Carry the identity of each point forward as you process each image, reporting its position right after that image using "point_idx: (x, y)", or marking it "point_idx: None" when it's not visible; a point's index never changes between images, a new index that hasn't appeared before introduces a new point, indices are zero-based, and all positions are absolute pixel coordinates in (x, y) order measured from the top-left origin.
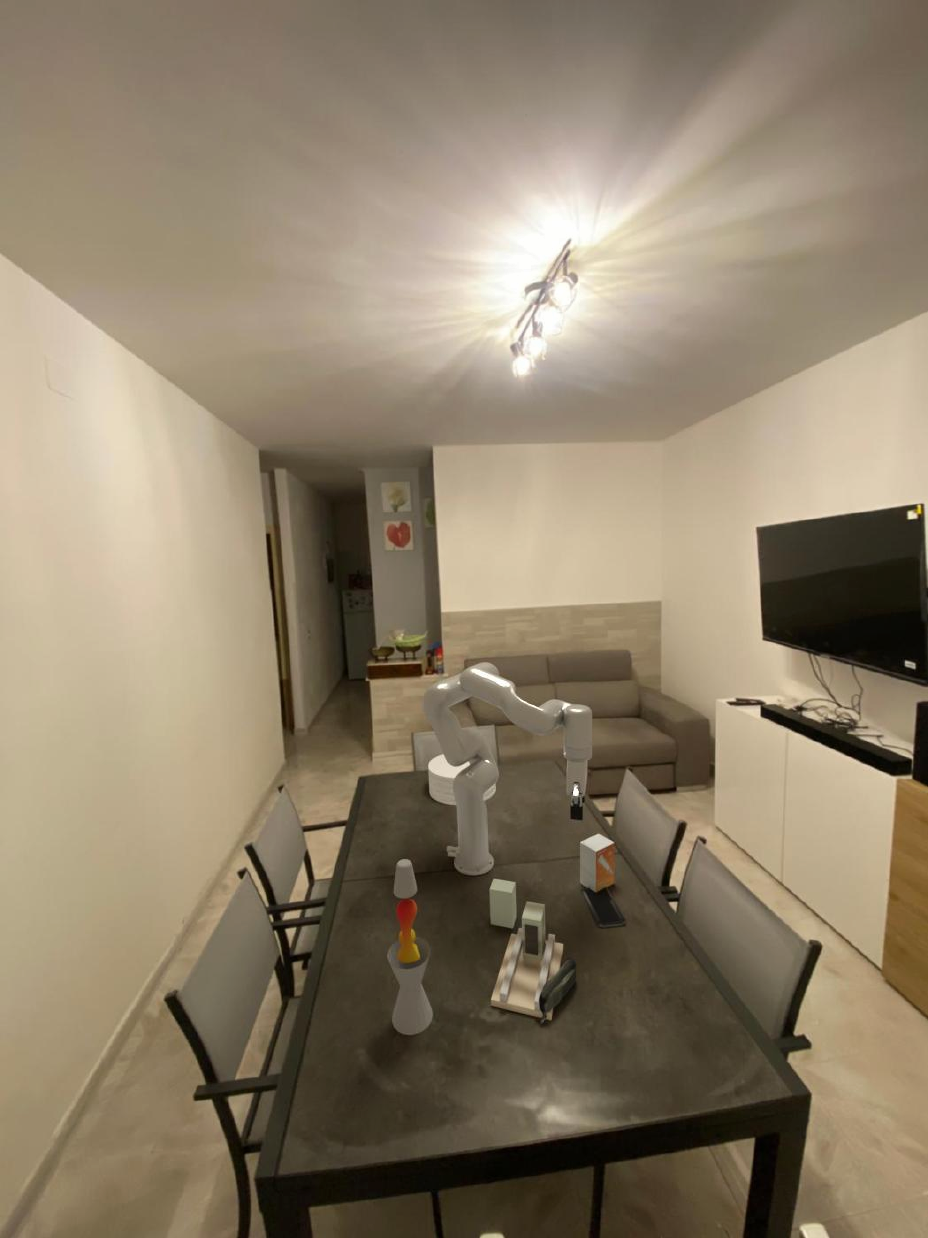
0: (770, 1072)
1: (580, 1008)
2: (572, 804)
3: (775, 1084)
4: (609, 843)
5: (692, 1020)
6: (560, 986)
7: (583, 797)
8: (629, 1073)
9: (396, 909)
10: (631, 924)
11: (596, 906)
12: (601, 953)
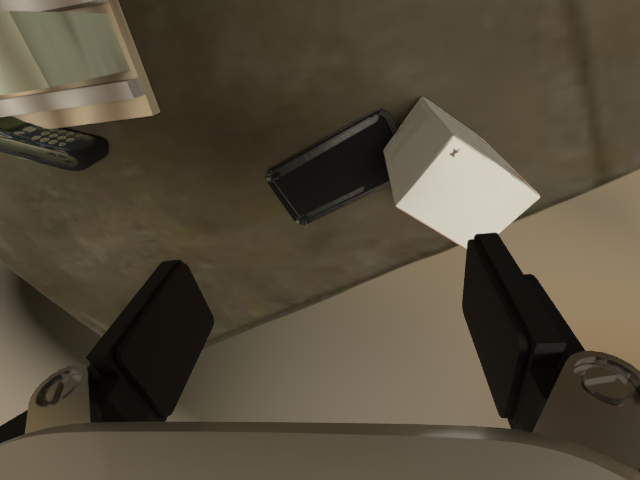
0: None
1: (64, 174)
2: (45, 400)
3: None
4: (465, 241)
5: None
6: (6, 154)
7: (477, 345)
8: (33, 246)
9: None
10: (307, 231)
11: (328, 160)
12: (200, 188)
